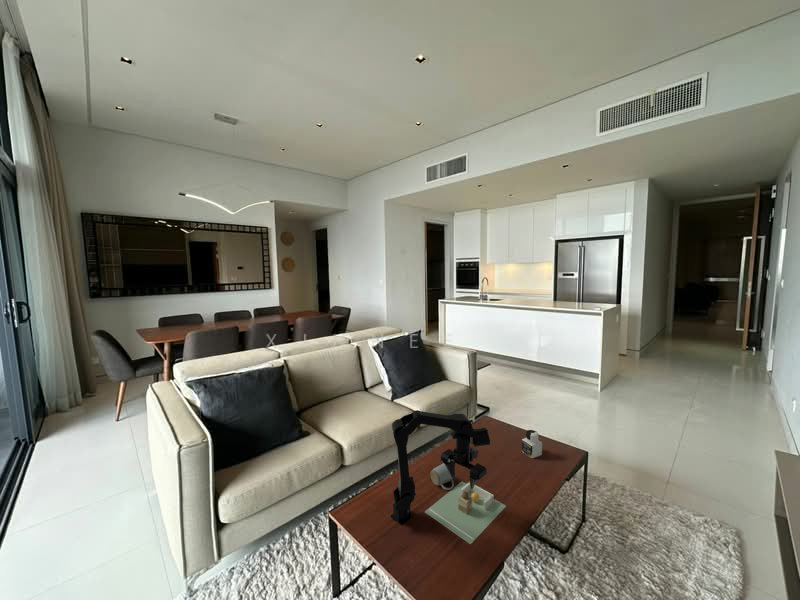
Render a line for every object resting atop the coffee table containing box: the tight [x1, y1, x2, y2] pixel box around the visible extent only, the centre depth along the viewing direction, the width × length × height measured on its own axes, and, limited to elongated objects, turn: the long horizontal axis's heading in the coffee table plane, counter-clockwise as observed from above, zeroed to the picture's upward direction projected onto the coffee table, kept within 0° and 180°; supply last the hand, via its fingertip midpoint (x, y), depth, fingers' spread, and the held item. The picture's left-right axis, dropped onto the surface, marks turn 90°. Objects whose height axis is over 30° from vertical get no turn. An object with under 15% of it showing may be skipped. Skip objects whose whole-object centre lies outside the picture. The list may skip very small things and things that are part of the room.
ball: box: [471, 492, 480, 502], centre depth 138 cm, size 4×4×4 cm
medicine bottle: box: [521, 429, 543, 459], centre depth 171 cm, size 7×7×12 cm
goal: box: [461, 481, 495, 510], centre depth 140 cm, size 6×12×3 cm, turn 44°
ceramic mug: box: [430, 462, 455, 491], centre depth 150 cm, size 11×8×8 cm
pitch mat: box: [424, 481, 507, 545], centre depth 134 cm, size 26×22×1 cm
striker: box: [458, 492, 472, 515], centre depth 133 cm, size 4×4×8 cm
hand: (462, 483), depth 133 cm, fingers open, 9 cm apart
